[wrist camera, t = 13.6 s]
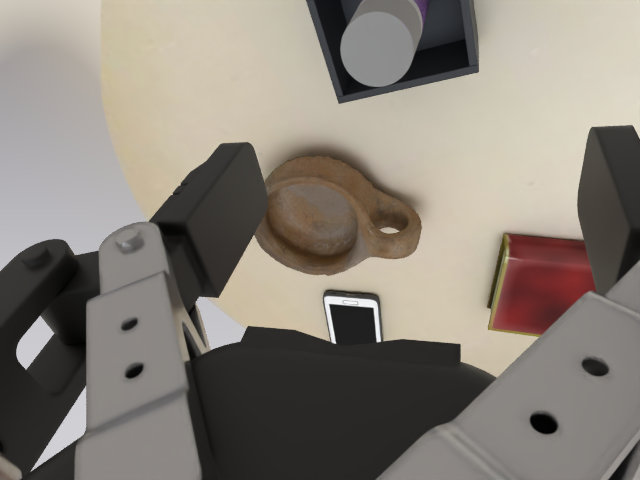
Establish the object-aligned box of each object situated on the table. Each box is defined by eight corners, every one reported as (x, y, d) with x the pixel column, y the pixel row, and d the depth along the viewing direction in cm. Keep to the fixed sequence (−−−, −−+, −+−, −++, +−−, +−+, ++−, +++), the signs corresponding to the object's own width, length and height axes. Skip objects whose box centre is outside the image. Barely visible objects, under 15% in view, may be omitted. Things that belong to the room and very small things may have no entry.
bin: (318, -60, 39) (292, -44, 34) (458, -113, 35) (454, -104, 29) (355, 71, 46) (338, 104, 40) (478, 40, 41) (478, 72, 36)
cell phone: (379, 293, 63) (378, 299, 63) (385, 362, 72) (384, 368, 72) (323, 289, 65) (321, 294, 65) (335, 357, 74) (334, 362, 74)
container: (393, -54, 38) (360, -8, 27) (444, -23, 38) (432, 34, 27) (365, 3, 41) (325, 65, 30) (412, 30, 41) (390, 102, 30)
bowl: (413, 122, 46) (407, 202, 40) (429, 212, 57) (426, 286, 51) (246, 140, 52) (221, 213, 46) (289, 219, 62) (273, 286, 57)
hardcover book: (504, 230, 53) (505, 255, 50) (725, 251, 48) (743, 280, 45) (487, 305, 60) (488, 331, 57) (677, 330, 55) (689, 359, 52)
